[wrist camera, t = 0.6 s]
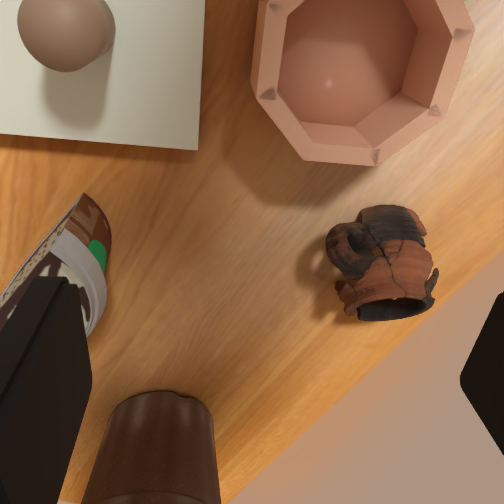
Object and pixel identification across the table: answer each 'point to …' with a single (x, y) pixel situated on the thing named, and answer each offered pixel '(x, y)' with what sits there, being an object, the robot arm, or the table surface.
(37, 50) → the lid
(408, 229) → the pottery mug
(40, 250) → the food container
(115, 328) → the table surface
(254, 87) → the bowl
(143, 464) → the plant pot
